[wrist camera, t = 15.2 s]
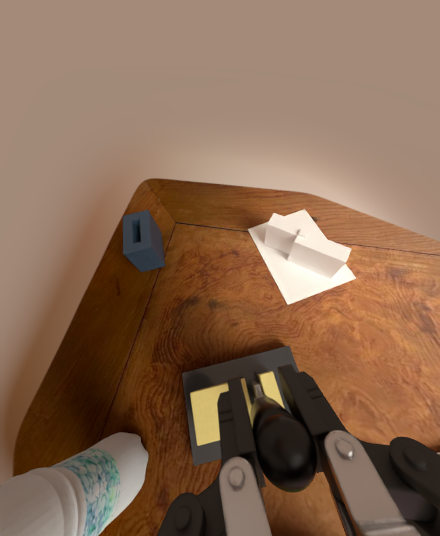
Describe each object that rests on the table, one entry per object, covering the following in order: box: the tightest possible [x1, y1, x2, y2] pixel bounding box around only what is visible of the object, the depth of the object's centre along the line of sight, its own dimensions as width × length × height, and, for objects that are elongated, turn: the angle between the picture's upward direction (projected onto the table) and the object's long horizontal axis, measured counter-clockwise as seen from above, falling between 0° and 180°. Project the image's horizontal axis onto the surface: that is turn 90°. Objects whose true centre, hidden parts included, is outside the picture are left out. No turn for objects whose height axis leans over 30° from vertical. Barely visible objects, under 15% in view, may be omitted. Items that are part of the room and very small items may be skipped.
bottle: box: [0, 432, 148, 536], centre depth 15 cm, size 7×7×20 cm
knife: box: [250, 381, 317, 492], centre depth 15 cm, size 2×4×19 cm, turn 13°
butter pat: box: [258, 371, 284, 408], centre depth 23 cm, size 2×4×4 cm, turn 13°
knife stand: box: [123, 210, 165, 272], centre depth 34 cm, size 4×7×6 cm, turn 13°
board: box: [182, 346, 299, 466], centre depth 25 cm, size 14×9×2 cm, turn 103°
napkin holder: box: [248, 209, 356, 305], centre depth 31 cm, size 15×11×6 cm
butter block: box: [190, 378, 252, 446], centre depth 22 cm, size 6×4×4 cm
